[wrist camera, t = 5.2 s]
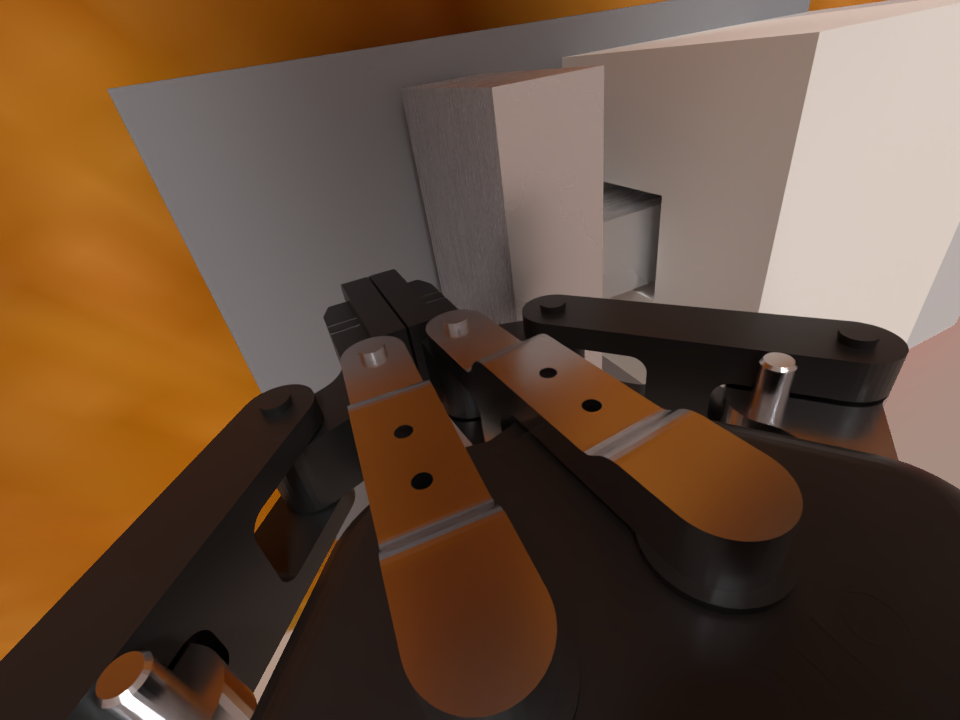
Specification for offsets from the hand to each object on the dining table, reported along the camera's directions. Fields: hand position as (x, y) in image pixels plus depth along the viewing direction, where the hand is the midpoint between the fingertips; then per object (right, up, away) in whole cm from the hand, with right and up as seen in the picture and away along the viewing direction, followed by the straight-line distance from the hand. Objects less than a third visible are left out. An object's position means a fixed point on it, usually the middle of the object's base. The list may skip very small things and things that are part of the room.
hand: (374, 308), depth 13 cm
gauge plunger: (+7, +1, +5) cm, 9 cm away
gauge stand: (+5, +3, +7) cm, 9 cm away
